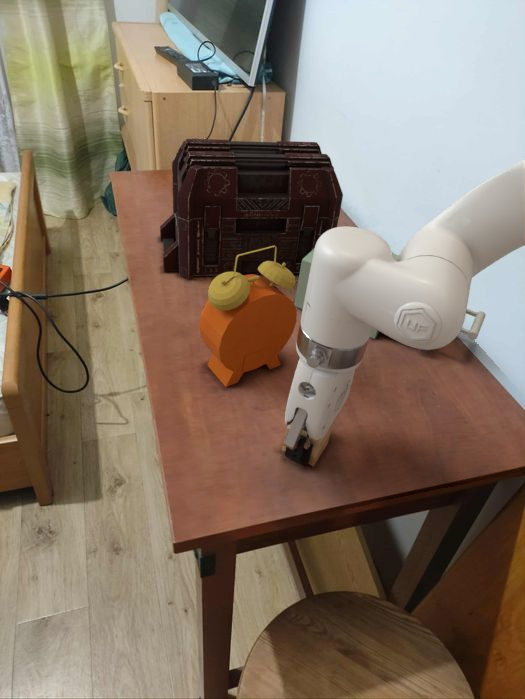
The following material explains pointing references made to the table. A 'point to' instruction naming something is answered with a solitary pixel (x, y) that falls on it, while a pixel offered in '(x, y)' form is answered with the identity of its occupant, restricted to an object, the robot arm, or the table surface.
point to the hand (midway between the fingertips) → (305, 445)
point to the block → (314, 444)
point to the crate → (247, 205)
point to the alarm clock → (247, 319)
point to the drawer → (475, 326)
